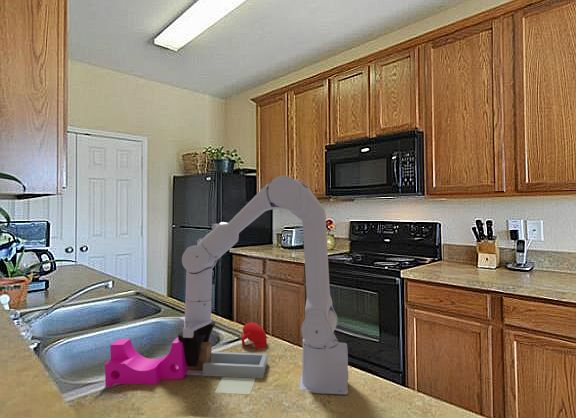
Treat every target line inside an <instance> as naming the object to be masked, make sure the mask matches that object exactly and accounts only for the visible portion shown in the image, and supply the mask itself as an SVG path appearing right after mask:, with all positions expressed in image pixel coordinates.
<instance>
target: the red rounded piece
mask: <svg viewBox="0 0 576 418" xmlns="http://www.w3.org/2000/svg"><path fill="white" fill-rule="evenodd" d="M240 335H241V337H240V340H241V343H242V344H241V345H242V346H245V345H246V343H245V341H246V340H247V339H248V340H249V341H250V342H252V343H254V347H255V348H256V349H257V350H260V349H264V348H267V343H268V342H267V341H268V340H267V338H268V336H267V333H266V332H265V330H264V329H263V328H262V326H261V325H259V324H258V323H255V322H247V323H246V324H244V325H243V327H242V333H241V334H240Z"/></svg>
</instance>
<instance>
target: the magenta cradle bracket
mask: <svg viewBox="0 0 576 418" xmlns="http://www.w3.org/2000/svg"><path fill="white" fill-rule="evenodd" d="M131 339H132V338H118V339H117V340H115V341H113V343H111V344H109V345H110V346H109V347H110V350H109V351H110V360H108V361H107V362H106V363H105V364H104V379H105V381H104V382H105V384H104V385H105V387H113V386H114V385H115V384H116V385H119V384H121V385H124V384H125V385H157V384H158V383H159V381H160V380H183V379H184V378H185V376H186V373H187V372H188V368H187V363H186V359H185V353H184V347H183V342H180V341H179V340H178V336H177V337H176V338H175V339H174V340H173V341H172V342H171V347H170V350H169V351H168V352H169V353H168V354H167V355H164V356H163V357H159V358H147V357H145V356H143V355H141V354H140V353H139V352H138V351H137V350H136V349H135V347H134V345H133V344H132V340H131Z"/></svg>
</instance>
